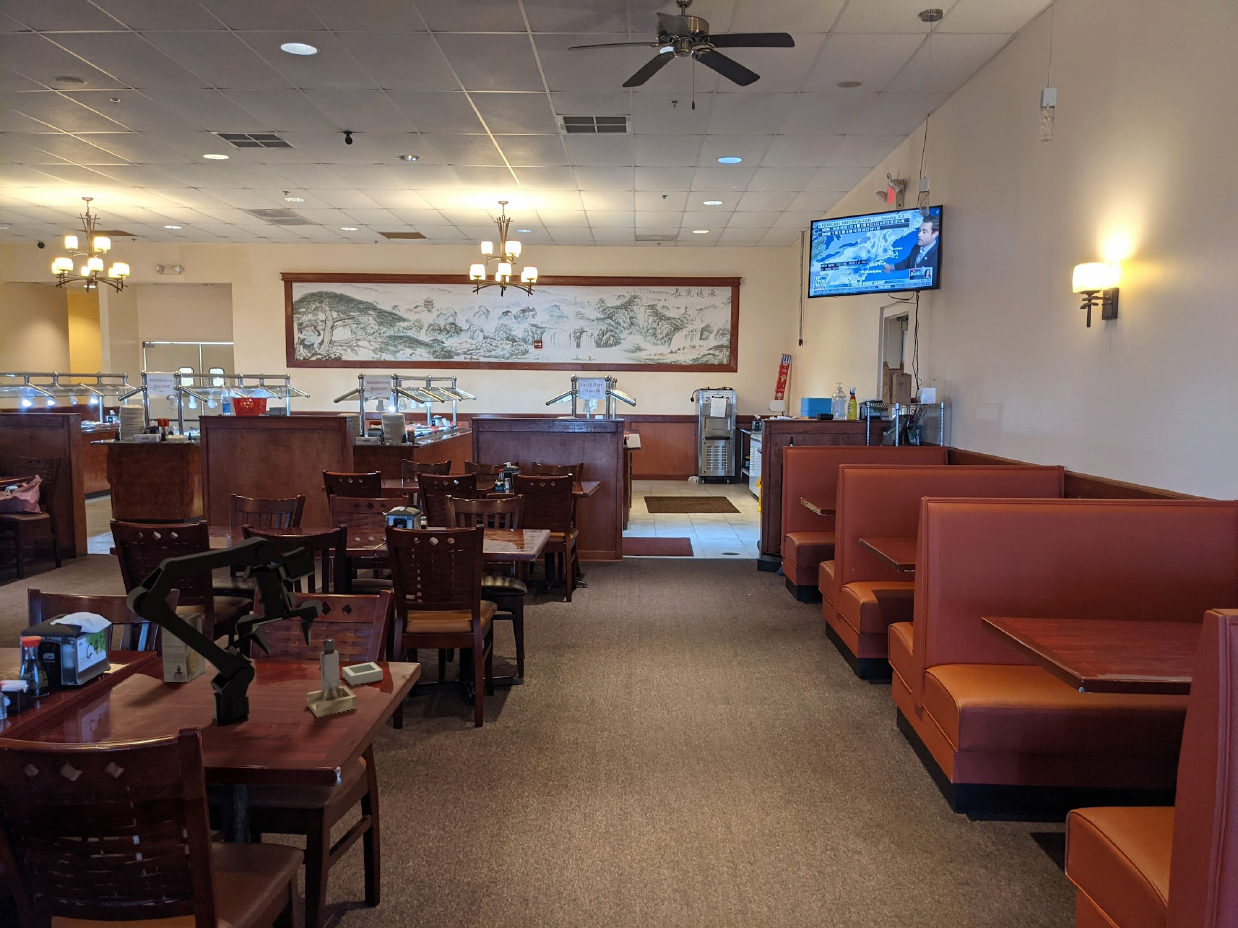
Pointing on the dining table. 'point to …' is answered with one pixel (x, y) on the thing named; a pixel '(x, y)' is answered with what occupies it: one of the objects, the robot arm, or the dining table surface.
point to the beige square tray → (332, 702)
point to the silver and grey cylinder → (330, 671)
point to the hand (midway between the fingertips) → (289, 650)
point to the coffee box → (182, 653)
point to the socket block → (362, 673)
